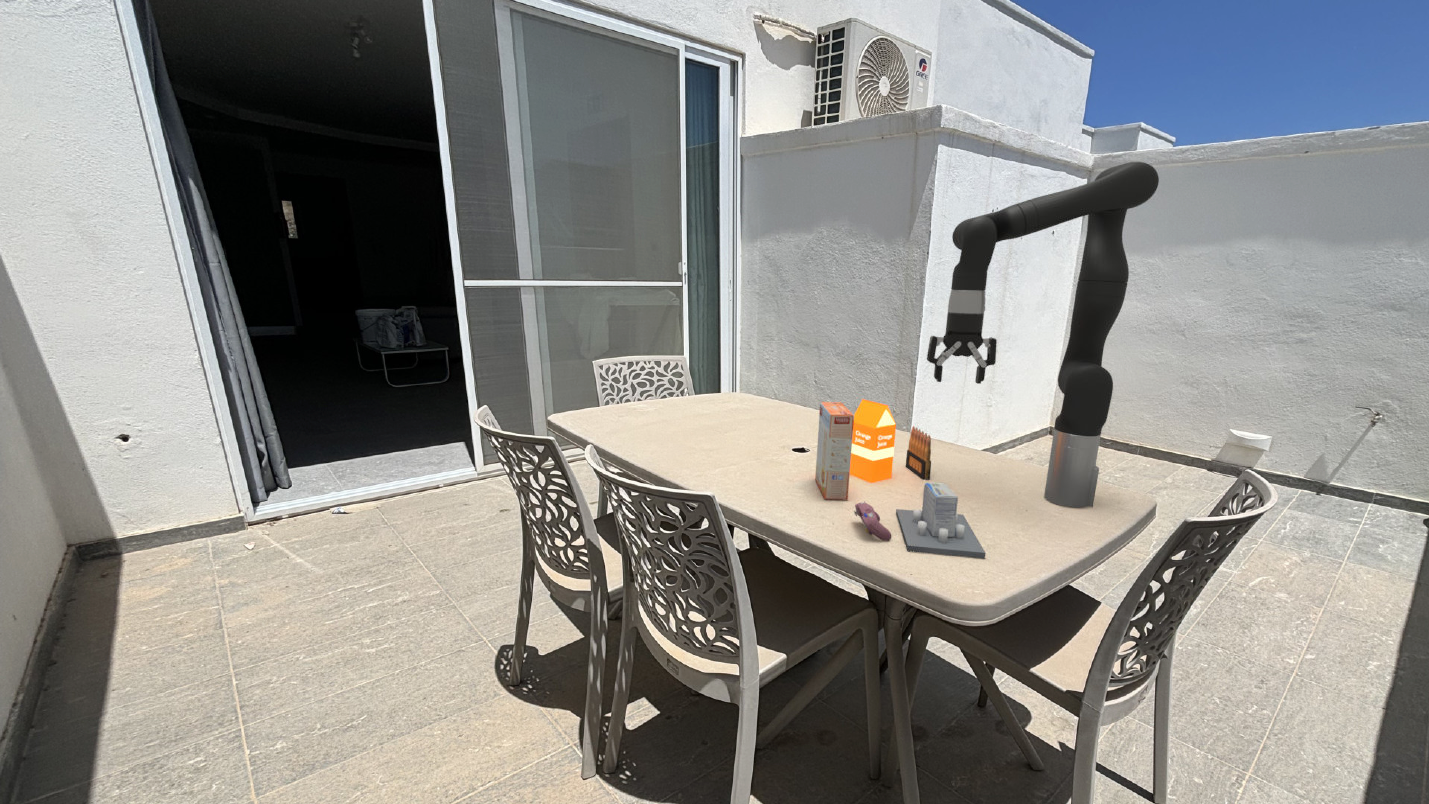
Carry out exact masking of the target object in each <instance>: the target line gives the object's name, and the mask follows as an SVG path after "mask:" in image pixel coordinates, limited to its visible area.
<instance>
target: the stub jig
mask: <svg viewBox="0 0 1429 804" xmlns="http://www.w3.org/2000/svg"><path fill="white" fill-rule="evenodd" d="M895 516H896V519H897V524H898V525H899V529H900V532H901V536H902V539H903V542H904V545H906V546H905V548H906V552H910V551H912V552H913V551H914V552H913V553H922V554H930V553H932V554H933V555H940V556H941V555H942V556H954V557H965V558H973V559H985V560H986V554H987V553H986V551H985V549H984V547H983V546H982V544H981V543H980V541H979V539H978V538H977V536H976V534H975V533H974V530H973V529H972V528H971V525H970V524H969V522H968V520H967V518H966V517H965V515H964V514H959V513H957V514H956V524H955V535H954V537H948V529H946V528H940V529H939V537H936V536H932V534H931V533H930V531H929V530H928V529H927V527H926V526H927V523H926V522H924V521H922V520H921V517H922V509H917V508H916V509H914V510H913V509H911V510H910V509H899V508H896V509H895Z"/></svg>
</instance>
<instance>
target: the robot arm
mask: <svg viewBox="0 0 1429 804" xmlns="http://www.w3.org/2000/svg"><path fill="white" fill-rule="evenodd" d="M1159 180H1160V177H1159V174H1158V171H1157V169H1156V168H1155V167H1153V166H1152V164H1149V163H1147V162H1144V161H1143V162H1142V161H1132V162H1131V161H1130V162H1125V163H1123V164H1119V165H1116V166H1112V167H1108V168H1106V169H1104V170H1102V171H1101V172H1100V173H1099V174H1098V175H1097V176H1096V177H1095V179H1094V180H1093V181H1091V182H1087V183H1086V184H1082V185H1079V186H1076V187H1072V188H1069V189H1064V190H1061V191H1057V192H1056V191H1055V192H1053V193H1049V194H1045V195H1041V196H1037V197H1034V198H1030V199H1027V200H1025V201H1022V202H1018V203H1015V204H1012V205H1010V206H1007V207H1004V208H1002V209H1000V210H998V211H997V210H996V211H994V212H990V213H986V214H985V213H984V214H983V215H978V216H975V217H971V218H967V219H965V220H963V221H961V222H960V223H958V224H957V225H956V226H955V228H954V230H953V232H952V236H951V237H952V243H953V244H954V246H955V248H957V249H958V250H959V251H961V252H960V257H959V261H958V263H957V264H956V265H955V266H954V268H953V273H952V280H951V290H950V294H949V297H948V305H947V306H948V307H947V315H946V316H947V317H946V324H945V325H946V326H945V332H944V335H943V336H935V335H931V336H930V337H929V343H928V350H927V355H926V360H927V361H928V362H929V363H930V364H933V365H934V373H933V378H934V379H935V380H936V382H937V383H941V382H942V379H943V378H942V377H943V363H944V362H946V361H947V360H948V359H950V357H951V356H954V357H972V358H973V359H974V361H975V362H976V363H977V366H976V372H975V381H974V382H975V384H976V385H977V384H979V385H980V384H982V382H984V381H985V376H986V368H987V367H990V366H994V365H996V359H997V343H998V341H997V339H996V338H995V337H988V338H983V335H982V334H983V327H984V318H985V311H986V291H987V290H986V288H987V280H988V270H989V267H990V264H991V261H992V258H993V256H994V251H995V249H996V245H997V243H999V242H1004V241H1009V240H1014V239H1019V238H1021V237H1025V236H1027V235H1031V234H1034V233H1037V232H1040V231H1043V230H1046V229H1049V228H1053V227H1055V226H1057V225H1060V224H1063V223H1067V222H1069V221H1072V220H1076V219H1078V218H1081V217H1085V216H1087V227H1086V235H1085V242H1084V247H1083V252H1082V259H1081V265H1080V270H1079V274H1078V280H1077V283H1076V289H1075V294H1074V295H1075V296H1074V302H1073V309H1072V315H1071V322H1070V329H1069V331H1070V332H1069V338H1068V343H1067V346H1066V349H1065V353H1064V355H1063V359H1062V363H1061V366H1060V369H1059V373H1058V376H1057V385H1058V388H1059V390H1060V391H1061V393H1062V394H1063V400H1062V405H1061V406H1062V407H1061V410H1060V413H1059V415H1058V416H1056V418H1055V422H1054V426H1053V427H1054V428H1053V433H1052V442H1051V448H1050V455H1049V461H1048V468H1047V474H1046V475H1047V476H1046V483H1045V487H1044V496H1043V497H1044V499H1045V500H1046V501H1048V502H1050V503H1052V504H1055V505H1059V506H1062V507H1065V508H1067V507H1068V508H1072V509H1073V508H1074V509H1081V508H1084V507H1085V508H1088V507H1089V508H1092V507H1094V503H1095V496H1096V492H1097V491H1096V490H1097V485H1098V479H1099V473H1100V468H1099V466H1097V461H1098V452H1099V447H1100V442H1101V435H1102V431H1103V427H1104V426H1105V424H1106V422H1107V420H1108V415H1109V411H1110V407H1111V402H1112V397H1113V391H1114V380H1113V377H1112V374H1111V373H1110V372H1109V371H1108V370H1107V369H1106V368H1105V367H1103V366H1102V365H1103V355H1104V349H1105V344H1106V341H1107V340H1106V339H1107V338H1108V335H1109V333H1110V330H1111V329H1112V327H1113V325H1114V324H1115V323H1116V320H1117V318H1118V317H1119V314H1120V313H1121V309H1122V307H1123V305H1124V302H1125V298H1126V297H1125V296H1126V292H1127V288H1128V282H1129V276H1130V275H1129V274H1130V272H1129V271H1130V270H1129V263H1128V258H1127V255H1126V251H1125V248H1124V247H1125V246H1124V244H1123V243H1124V242H1123V230H1124V224H1125V220H1126V215H1127V212H1128V210H1129V209H1134V208H1137V207H1139V206H1141V205H1143V204H1144V203H1147V201H1149V200H1150V199H1151V198H1152V197H1153V196H1154V194H1155V193H1156V192H1157V189H1158V187H1159V182H1160V181H1159ZM941 343H943V344H944V347H945V348H944V349H943V350H942V352H941V353H940V355H938V356H937V358H936V350H937V347H938V346H940V345H941ZM983 344H984V347H985V348H986V359H984V358H983V356H982V354H981V353H980V352H979V349H980V347H982V346H983Z"/></svg>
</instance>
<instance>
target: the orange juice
mask: <svg viewBox="0 0 1429 804" xmlns="http://www.w3.org/2000/svg"><path fill="white" fill-rule="evenodd" d="M853 415H854V425H853V437H852V450H851V462H850V475H849V476H853V477H856V478H858V479H861V480H863V481H865V482H868V483H870V484H872V483H873V484H874V483H876V482H877V483H878V482H881V481H885V480H889V479H892V477H893V476H892V474H893V462H894V456H895V455H894V453H895V441H896V429H897V424H896V422H895V419H894V417H893V415H892V412H891V410H890V408H889V405H888V404H885V403H884V404H883V403H879V402H876V401H872V400H867V399H864V398H863V399H861V401H860V404H859V405H858V407H857V409H856V411H855V412H854V414H853Z"/></svg>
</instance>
